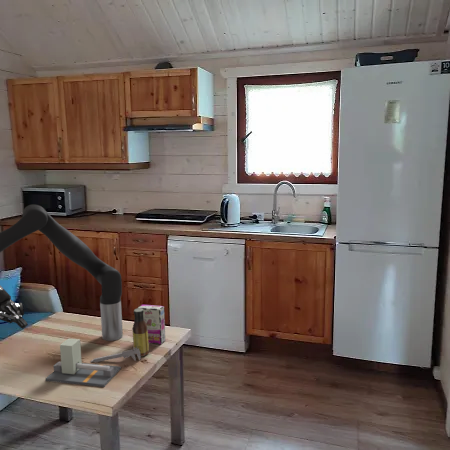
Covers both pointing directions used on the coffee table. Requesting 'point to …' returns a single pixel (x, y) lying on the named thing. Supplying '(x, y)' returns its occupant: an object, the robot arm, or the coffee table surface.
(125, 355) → the caliper
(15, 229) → the robot arm
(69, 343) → the sage green block
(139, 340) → the sauce bottle
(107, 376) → the pipe rig
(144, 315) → the candy bar box
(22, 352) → the coffee table surface
